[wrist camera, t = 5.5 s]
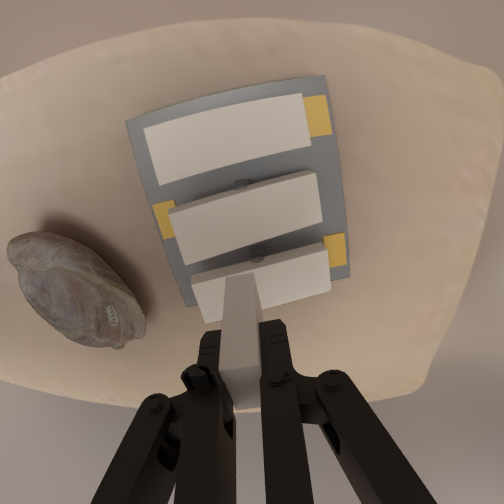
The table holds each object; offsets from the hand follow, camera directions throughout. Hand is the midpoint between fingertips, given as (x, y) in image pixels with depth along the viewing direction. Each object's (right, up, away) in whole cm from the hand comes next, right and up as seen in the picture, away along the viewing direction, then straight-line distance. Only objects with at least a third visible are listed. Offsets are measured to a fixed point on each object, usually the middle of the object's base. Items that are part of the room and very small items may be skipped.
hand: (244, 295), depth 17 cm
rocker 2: (0, +5, +4) cm, 6 cm away
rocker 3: (+1, 0, +7) cm, 7 cm away
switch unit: (0, +7, +9) cm, 12 cm away
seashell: (-17, 0, +13) cm, 21 cm away
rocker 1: (-1, +10, +2) cm, 10 cm away
